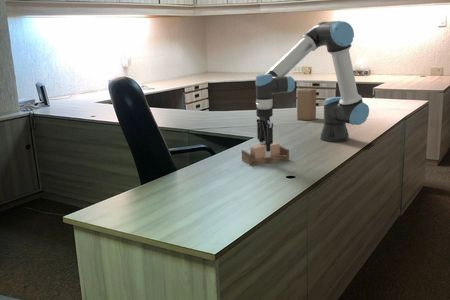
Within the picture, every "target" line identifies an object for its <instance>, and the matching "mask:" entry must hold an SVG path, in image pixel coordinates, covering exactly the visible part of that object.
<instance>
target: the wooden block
mask: <svg viewBox="0 0 450 300" xmlns="http://www.w3.org/2000/svg"><path fill="white" fill-rule="evenodd" d="M296 96H297V97H296V106H297V107H296V109H297V110H296V116H297V117H296V119H297V120H298V119H299V121H309V120H310V121H312V120H314V119H316V118H317V116H316V115H317V114H316V113H317V89H316V88H305V87H304V88H300V89H297V91H296Z"/></svg>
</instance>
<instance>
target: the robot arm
mask: <svg viewBox="0 0 450 300" xmlns="http://www.w3.org/2000/svg"><path fill="white" fill-rule="evenodd" d="M300 37H301V38H300V40H299V42H297V43H296V44H295V45H294V46H293V47H292V48H291V49H290V50H289V51H288V52H287V53H286V54H285V55H283V57H282V58H280V59H279V60H278V61H277V62H276V63H275V64H274V65H273V66H272V67H271V68H270V69H269V70H268V71H267V72H266V73H260V74H259V73H258V74H257V75H256V76H255V95H256V96H255V97H256V99H255V100H256V101H255V104H256V109H255V111H256V117H258V118H256V130H257V131H256V132H257V133H256V134H257V136H256V137H257V140H258V142H259V145H262V144H264V148H265V158H269V157H271V153H270V144H273V142H274V135H273V134H274V129H273V128H274V123H273V122H271V117H273V115H274V113H273V110H274V109H273V106H274V104H273V103H274V102H273V99H274V98H273V95H276V94H278V95H279V94H285V93H286V94H287V93H292V92H293V91H294V90H295V86H296V82H295V79H294V77H292V76H287V75H288V74H289V72H291V71H292V70H293V69H295V68H296V66H297V65H299V63H301V61H302V60H303V59H304V58H306V57H307V56H308V55H309V53H311V52H315V51H316V50H317V49H318V48H319V47H323V46H325V47H326V48H327V49H326V50H327V53H329V54H330V55H331V58H332V62H333V67H334V72H335V76H336V80H337V81H336V82H337V84H338V85H337V86H338V90H339V94H340V96H333V97H327V98H325V99H324V105H323V127H322V129H321V132H320V140H322V141H325V142H333V143H334V142H335V143H337V142H346V141H348V140H349V139H350V138H349V131H348V128H347V124H350V125H352V126H354V125H355V126H360V125H362V124H364V123H365V122H366V121H367V120H368V118H369V115H370V107H369V104H367V103H365V102H364V101H363V97H362V95H361V94H359V93H358V88H357V84H356V77H355V73H354V72H355V71H354V67H353V64H352V59H351V53H350V49H351V47H352V43H353V41H354V38H355V31H354V28H353V26H352V25H351V24H350V23H348V22H347V21H342V20H337V21H336V20H335V21H322V22H318V23H317V24H315V25H314V26H313V27H311V28H310V29H308V30H307V31H306V32H305V33H303V35H302V36H300Z"/></svg>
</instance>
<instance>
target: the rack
mask: <svg viewBox="0 0 450 300" xmlns="http://www.w3.org/2000/svg"><path fill="white" fill-rule="evenodd" d="M241 161H242V162H244V163H245V164H247V165H248V164H249V166H250V165H251V166H256V164H258V165H264V164H270V163H271V164H272V163H278V162H284V161H290V150H289V149H287V147H284V146H282V145H280V156H276V157H269V158H261V159H254V160H252V155H251V152H248V151H247V150H244V149H241Z"/></svg>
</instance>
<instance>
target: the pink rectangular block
mask: <svg viewBox="0 0 450 300" xmlns="http://www.w3.org/2000/svg"><path fill="white" fill-rule="evenodd" d="M280 146H281V145H280V143H278V142H275V141H273V144H270V153H271V157H276V156H280ZM250 154H251V155H252V160H254V159H261V158H265V148H264V144H262V145H260V144H257V145H252V146H250Z"/></svg>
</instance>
